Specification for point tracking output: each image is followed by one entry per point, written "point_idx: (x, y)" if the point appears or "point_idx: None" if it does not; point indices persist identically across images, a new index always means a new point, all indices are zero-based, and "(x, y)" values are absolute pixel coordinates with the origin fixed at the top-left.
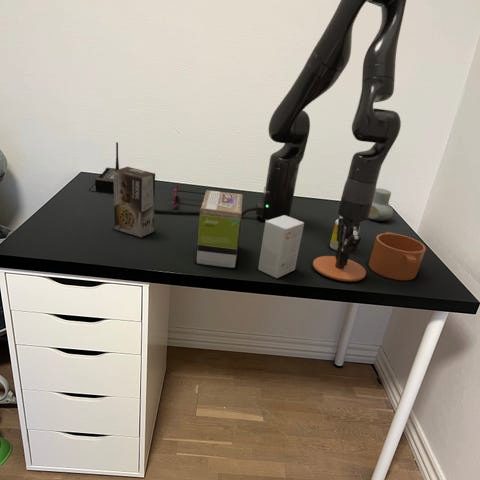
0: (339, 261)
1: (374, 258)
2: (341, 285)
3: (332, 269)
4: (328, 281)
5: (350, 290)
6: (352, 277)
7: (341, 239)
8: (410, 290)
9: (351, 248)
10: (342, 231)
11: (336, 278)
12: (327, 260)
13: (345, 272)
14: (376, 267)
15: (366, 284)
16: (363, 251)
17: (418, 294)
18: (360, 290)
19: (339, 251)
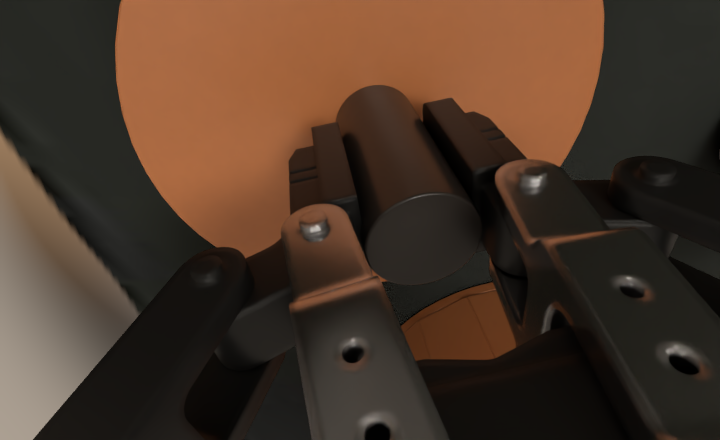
0: (314, 142)
1: (486, 348)
2: (92, 127)
3: (290, 57)
4: (88, 8)
5: (52, 189)
6: (213, 215)
7: (382, 298)
8: (282, 409)
9: (240, 364)
10: (602, 385)
11: (120, 92)
12: (495, 9)
13: (281, 169)
14: (438, 328)
15: None
16: (702, 253)
17: (258, 427)
18: (111, 246)
19: (391, 170)
